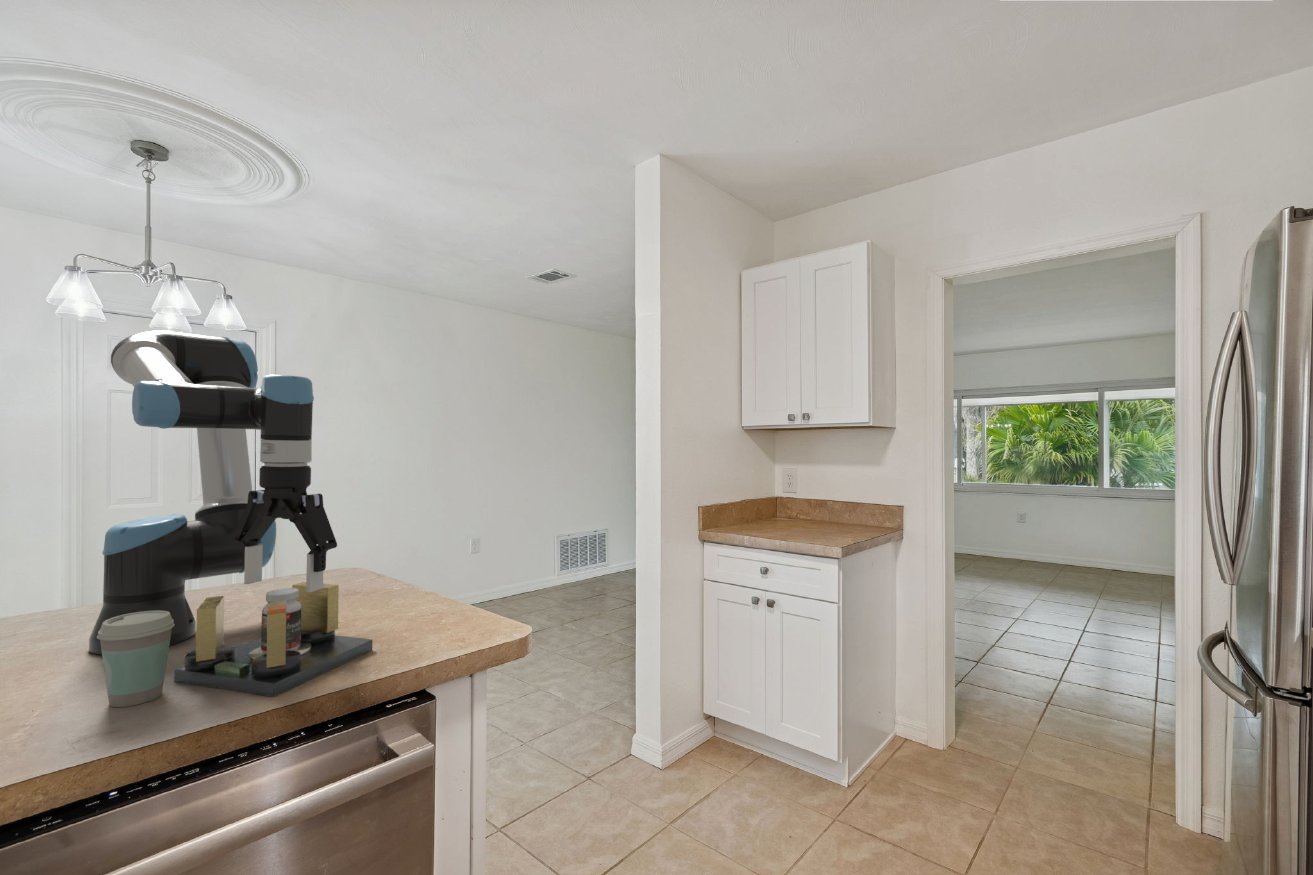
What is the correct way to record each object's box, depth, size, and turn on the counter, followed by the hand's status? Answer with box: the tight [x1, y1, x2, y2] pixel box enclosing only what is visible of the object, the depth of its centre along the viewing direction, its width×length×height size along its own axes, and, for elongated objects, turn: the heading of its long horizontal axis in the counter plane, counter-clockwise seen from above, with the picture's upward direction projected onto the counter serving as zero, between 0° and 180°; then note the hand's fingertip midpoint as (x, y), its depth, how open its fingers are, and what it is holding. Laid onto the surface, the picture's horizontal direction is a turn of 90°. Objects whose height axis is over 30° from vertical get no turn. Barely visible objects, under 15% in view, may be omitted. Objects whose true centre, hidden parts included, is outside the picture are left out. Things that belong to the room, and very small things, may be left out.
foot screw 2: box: [291, 581, 340, 645], centre depth 105 cm, size 8×6×10 cm
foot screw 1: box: [184, 595, 235, 672], centre depth 93 cm, size 8×6×10 cm
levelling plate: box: [173, 634, 373, 698], centre depth 98 cm, size 20×20×3 cm
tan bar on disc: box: [252, 600, 300, 679], centre depth 91 cm, size 8×6×11 cm
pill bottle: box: [260, 587, 301, 654], centre depth 98 cm, size 6×6×10 cm
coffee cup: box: [97, 611, 175, 708], centre depth 85 cm, size 9×8×12 cm
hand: (283, 586), depth 100 cm, fingers open, 13 cm apart
